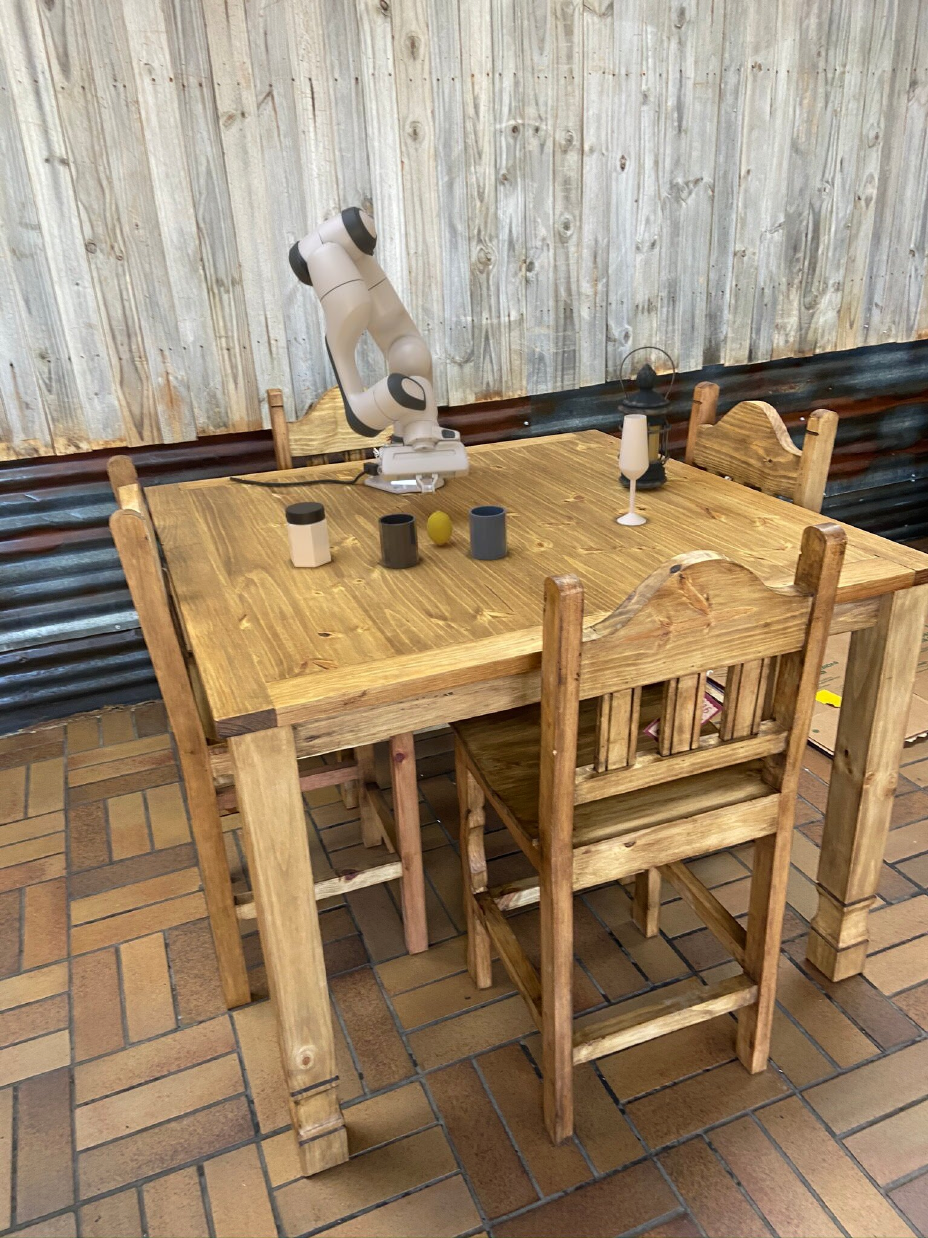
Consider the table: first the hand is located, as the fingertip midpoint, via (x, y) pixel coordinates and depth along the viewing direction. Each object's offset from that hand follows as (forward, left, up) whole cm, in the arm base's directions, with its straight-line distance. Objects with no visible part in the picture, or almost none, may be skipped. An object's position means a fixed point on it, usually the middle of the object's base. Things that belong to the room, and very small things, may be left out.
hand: (428, 493), depth 202 cm
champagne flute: (+37, +28, -9) cm, 47 cm away
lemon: (+8, -7, -9) cm, 14 cm away
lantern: (+27, +54, -9) cm, 61 cm away
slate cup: (+21, -6, -9) cm, 23 cm away
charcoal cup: (+7, -20, -9) cm, 23 cm away
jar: (-10, -29, -9) cm, 32 cm away
